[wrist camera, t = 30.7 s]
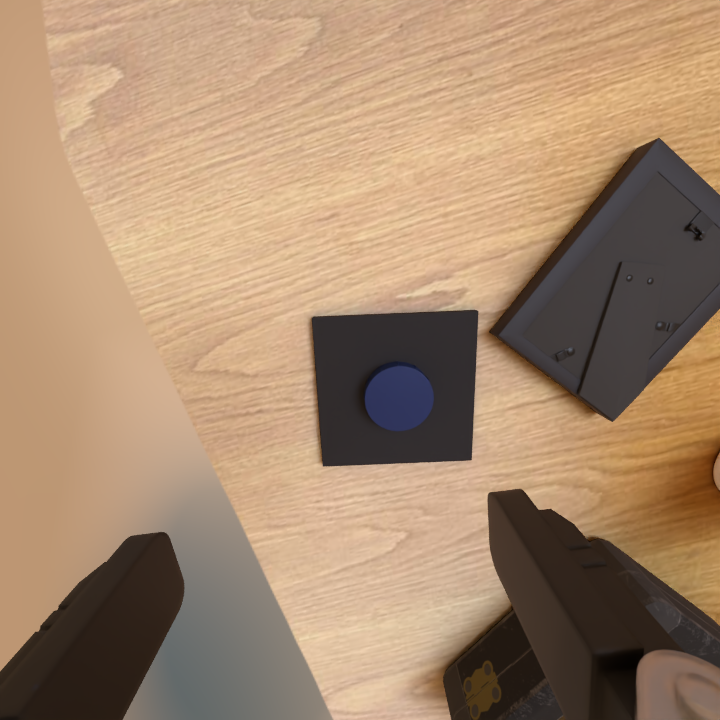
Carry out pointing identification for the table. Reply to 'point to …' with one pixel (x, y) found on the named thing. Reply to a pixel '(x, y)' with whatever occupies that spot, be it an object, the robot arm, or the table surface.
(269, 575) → the table surface
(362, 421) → the mat
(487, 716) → the cash box
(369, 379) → the lid
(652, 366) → the picture frame
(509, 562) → the robot arm
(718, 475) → the jar
